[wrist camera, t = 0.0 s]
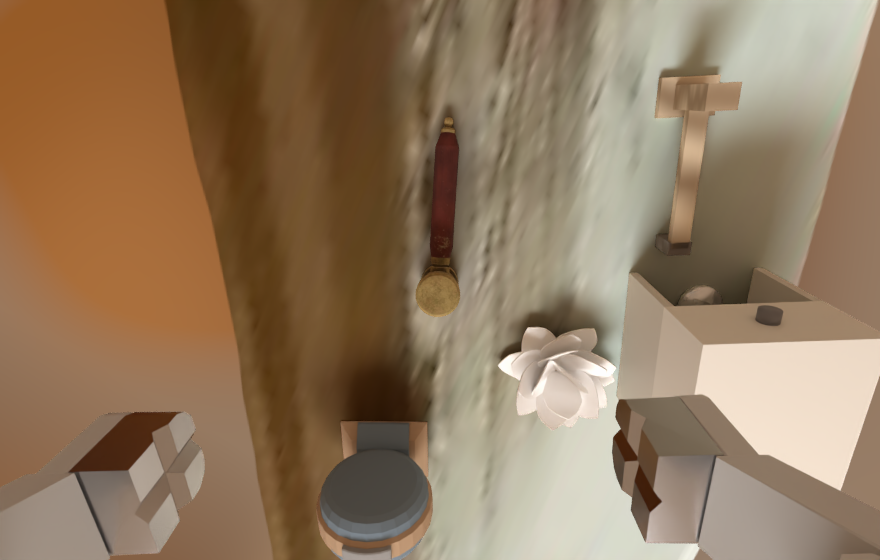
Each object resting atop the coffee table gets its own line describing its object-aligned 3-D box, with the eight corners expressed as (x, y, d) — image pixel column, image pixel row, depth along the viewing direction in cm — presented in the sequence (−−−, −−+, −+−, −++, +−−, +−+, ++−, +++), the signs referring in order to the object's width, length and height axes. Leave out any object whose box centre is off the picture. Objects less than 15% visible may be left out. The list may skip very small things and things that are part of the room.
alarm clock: (339, 474, 70) (305, 590, 54) (333, 420, 67) (296, 527, 50) (434, 475, 70) (430, 592, 54) (434, 421, 66) (429, 529, 50)
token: (679, 284, 59) (683, 288, 58) (720, 283, 59) (725, 286, 57) (674, 320, 60) (678, 325, 59) (713, 319, 60) (718, 323, 59)
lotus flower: (475, 369, 63) (479, 410, 55) (555, 292, 59) (573, 323, 51) (550, 427, 67) (564, 473, 59) (632, 358, 62) (659, 397, 54)
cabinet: (630, 263, 57) (705, 332, 41) (764, 258, 57) (896, 325, 40) (616, 396, 64) (675, 501, 48) (735, 392, 64) (838, 497, 47)
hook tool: (659, 77, 50) (693, 74, 43) (716, 74, 50) (760, 71, 43) (640, 247, 57) (667, 268, 50) (690, 245, 56) (725, 266, 49)
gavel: (429, 125, 56) (425, 104, 46) (468, 127, 56) (472, 107, 46) (420, 299, 58) (414, 315, 49) (457, 301, 58) (458, 318, 48)
